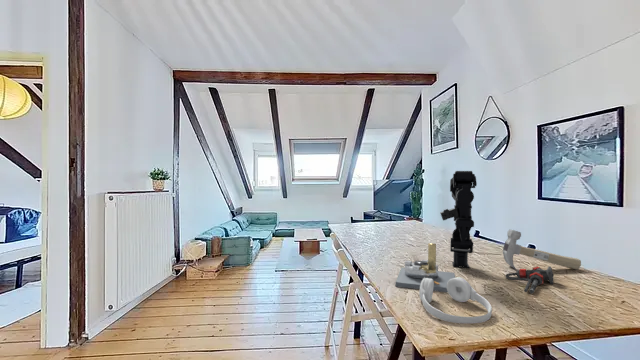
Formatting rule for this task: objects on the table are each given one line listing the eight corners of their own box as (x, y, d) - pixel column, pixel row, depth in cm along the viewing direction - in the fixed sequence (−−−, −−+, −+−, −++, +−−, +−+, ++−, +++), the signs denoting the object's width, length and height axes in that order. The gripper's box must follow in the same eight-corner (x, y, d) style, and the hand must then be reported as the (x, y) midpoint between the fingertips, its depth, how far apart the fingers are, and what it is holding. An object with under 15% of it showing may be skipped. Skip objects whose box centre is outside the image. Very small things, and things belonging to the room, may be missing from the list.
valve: (511, 277, 133) (556, 279, 123) (498, 297, 113) (550, 302, 103) (509, 261, 133) (553, 262, 123) (494, 279, 113) (546, 282, 103)
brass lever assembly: (399, 270, 127) (399, 237, 127) (427, 269, 129) (428, 236, 129) (417, 283, 112) (418, 245, 112) (449, 281, 114) (449, 244, 114)
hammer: (577, 245, 139) (507, 228, 141) (585, 248, 134) (512, 230, 137) (568, 280, 139) (498, 263, 142) (576, 284, 135) (503, 266, 137)
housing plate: (401, 271, 133) (401, 266, 133) (454, 276, 126) (454, 272, 126) (395, 286, 114) (395, 281, 114) (457, 293, 107) (457, 288, 107)
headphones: (411, 273, 103) (437, 308, 84) (466, 273, 105) (505, 307, 85) (409, 294, 104) (435, 333, 85) (464, 293, 106) (502, 332, 86)
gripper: (441, 200, 140) (441, 236, 140) (441, 203, 122) (441, 244, 122) (469, 201, 136) (469, 238, 136) (474, 204, 118) (473, 247, 118)
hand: (462, 241), depth 128 cm, fingers closed
